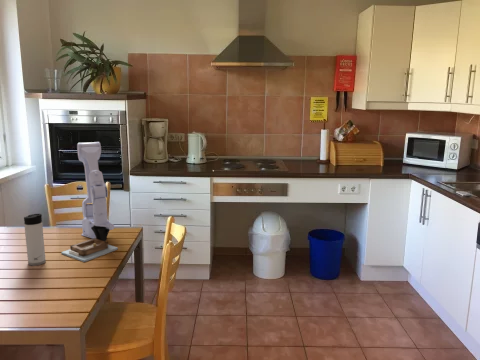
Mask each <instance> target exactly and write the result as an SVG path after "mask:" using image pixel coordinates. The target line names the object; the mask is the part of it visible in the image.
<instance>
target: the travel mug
mask: <svg viewBox="0 0 480 360" xmlns="http://www.w3.org/2000/svg"><path fill="white" fill-rule="evenodd" d="M42 216H43V215H42V213H32V214H29V215H27V216H24V217H23V221H24V223H23V224H24V233H25V246H26V254H27V256H26V257H27V264H28V266H32V267H33V266H40V265H41V266H42V265H43V264H44V263H46V261H47V260H46V252H45V251H46V250H45V238H44V228H43V227H44V225H43V220H42V219H43V217H42Z"/></svg>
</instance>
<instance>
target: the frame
mask: <svg viewBox="0 0 480 360" xmlns="http://www.w3.org/2000/svg"><path fill="white" fill-rule="evenodd" d="M108 245H109V243H108V241H106V242H105V241H102V240H99V239H96V238H94V239H93V238H90V239H87V240H85V241H84V240H83V241H81V242H78V243H76V244H75V243H74V244H72V245H69V247H70V248H69V249H71V250H72V251H74V252H77V253H79V255H81V256H86V255H89V254H92V253H95V252H97V251H100V250H103V249H106V248H108Z"/></svg>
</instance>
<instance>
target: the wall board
mask: <svg viewBox="0 0 480 360" xmlns="http://www.w3.org/2000/svg"><path fill="white" fill-rule="evenodd" d="M118 248H119V247H117V246H114V245H111V244H108V248H106V249H103V250H100V251H97V252H95V253H92V254H89V255H86V256H81V255H79V253H77V252H74V251H72V250H71V249H70V248H69V249H67V250H63V251H61V255H63V256H67V257H69V258H72V259H74V260H78V261H81V262H82V263H85V262H88V261H91V260H93V259H96V258H99V257H101V256H104V255H106V254H110V253H112V252H115V251H117V250H118Z"/></svg>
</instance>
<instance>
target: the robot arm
mask: <svg viewBox="0 0 480 360" xmlns="http://www.w3.org/2000/svg"><path fill="white" fill-rule="evenodd" d="M76 149H77V158H78V161H79V162H82V163H83V167H84V175H85V185H86V194H87V197H86V198H84V200H82V203H81V204H82V207H81V210H82V217H83V218H82V222H81V227H82V233H81V234H80V235H81V236H83V237H87V238H90V239H94V238H96V239H99V240H102V241H105V242H107V239H108V235H109V232H110V231H112V230H114V229H115V225H114V224H113V223H111V222H110V220H109V219H108V205H107V204H108V203H107V199H108V197H109V196H108V195H109V194H108V193H109V192H108V186H107V184H106V182H105V181H104V176H103V172H102V171H100V169H99V160H100V158H101V154H102V146H101V142H100V141H94V142H92V141H91V142H78V143H77V144H76Z"/></svg>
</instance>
